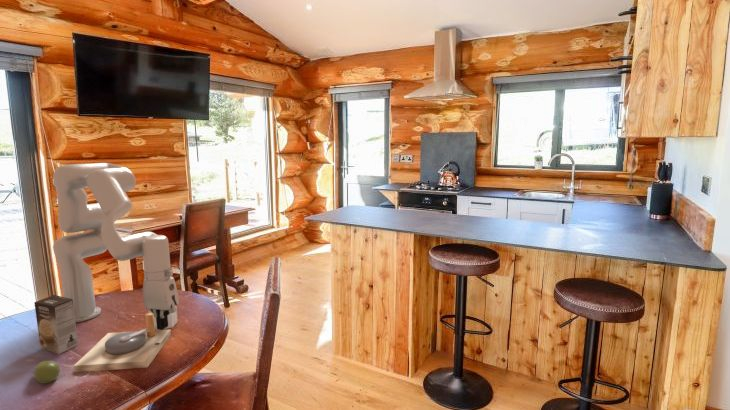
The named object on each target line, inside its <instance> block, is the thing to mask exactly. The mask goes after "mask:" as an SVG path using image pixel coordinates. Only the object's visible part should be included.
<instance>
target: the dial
mask: <svg viewBox="0 0 730 410" xmlns="http://www.w3.org/2000/svg"><path fill="white" fill-rule="evenodd" d="M144 318H145V328H143V329H141V331H138V330H137V331H136V330H134V331H133V330H132V331H124V332H125V333H121V334H118V335H115V336H113V337H111V338H110V339H108V340H107V341H106V342H105V350H106V352H107V353H108V354H112V355H120V354H126V353H130V352H133V351H135V350H137V349H139V348H141V347H142V346H144V344H145V343H146V337H145V334H144V333H147V336H148V337H151V336H154V335H155V327H154V316H153V313H149V312H147V313H145V314H144Z"/></svg>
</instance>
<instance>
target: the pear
mask: <svg viewBox="0 0 730 410" xmlns="http://www.w3.org/2000/svg"><path fill="white" fill-rule="evenodd" d="M60 372H61V369H60V366H59V363H58V362H57V361H53V360H43V361H40V362H39V363H38V364H37V365H36V366H35V367H34V370H33V376H34V379H35V380H36V381H37V382H39V383H40V384H48V383H51V382H53V381H55V380H56V379H57V378H58V377H59V375H60Z"/></svg>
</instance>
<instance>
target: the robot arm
mask: <svg viewBox="0 0 730 410" xmlns="http://www.w3.org/2000/svg"><path fill="white" fill-rule="evenodd" d="M52 179H53V180H52V181H53V184H54V188H55V191H56V192H57V199H58V200H57V207H58V208H57V213H58V214H57V215H58V219H57V220H58V227H59V229H60V231H62V232H63V233H69V234H67V235H63V236H61V237H59V238H57V239H56V240H55V241H54V243H53V246H52V249H53V254H54V255H55V256H54V257H55V258H56V259H55V260H56V262H57V265H58V270H59V277H60V285H61V291H62V297H66V298H70V299H73V306H74V315H75V323H80V322H85V321H88V320H91V319H94V318H96V317H98V316H99V315H101V313H102V309H101V307H99V306H96V305H97V304H96V299H95V290H94V289H95V288H94V280H93V273H92V268H91V266H90V264H88V263H86V261H85V260H84V259H85V258H89V257H90V258H91V257H93V256H97V255H101V254H103V253H105V252H107V250H108V252H109V254H110V255H111V256H112V258H114V259H115V260H117V261H120V262H123V261H125V262H126V261H129V260H133V259H136V258H140V257H142V263H143V272H144V273H143V274H144V279H143V283H142V299H143V305H144V307H145V310H147V311H148V312H149V311H151V312H152V313H153V314H154V317H155V318H156V323H157V330H163V329H164V330H166V329H165V328H166V327H168V317H167V316H168V315H169V314H170V313H174V312H176V308H177V306H178V305H179V302H180V300H179V294H178V289H177V284H176V281H175V278H174V276H173V275H174V272H173V271H172V269H171V256H170V246H169V239H168V237H167V236H166V235H163V234H157V233H155V232H153V231H143V232H138V233H132V234H128V235H123V236H120V234H119V233H118V231H117V229H116V225H115V222H116V221H118V220H120V219H121V218H123V217H124V216H125V215H127V214H128V213H129V212H130V211H131V210H132V208H133V203H132V201H131V200H130V197H129V196H128V194H127V193H126V192H129V191H132V190H133V189H134V188H135V187H136V183H137V180H136V179H137V178H136V177H135V174H134V173H133V172H132V170H131V169H129V168H128V167H126V166H125V167H124V166H122V165H118V164H114V163H110V162H94V163H72V164H70V163H69V164H66V165H65V164H64V165H61V166H58V167H56V169H54V171H53V178H52ZM85 189H89V190H90V192H91V194H92V196H93V198H94V199H95V200H96V203H88V193H87V192H86V190H85ZM175 306H176V307H175Z"/></svg>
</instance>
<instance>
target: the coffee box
mask: <svg viewBox="0 0 730 410" xmlns="http://www.w3.org/2000/svg"><path fill="white" fill-rule="evenodd" d="M34 310H35V318H36V325H37V330H38V331H37V332H38V337H39V339H38V340H39V345H40V346H39V347H40V349H41V350H44V351H48V352H52V353H55V354H58V355H60V354H62V353H64V352H66V351H69V350H70V349H72V348H74V347H76V346H78V345H79V343H78V342H79V341H78V333H77V326H76V324H77V323H76V322H75V315H74V306H73V299H70V298H66V297H63V296H60V295H56V294H53V295H50V296H48V297H45V298H42V299H40V300H37V301H34Z"/></svg>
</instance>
